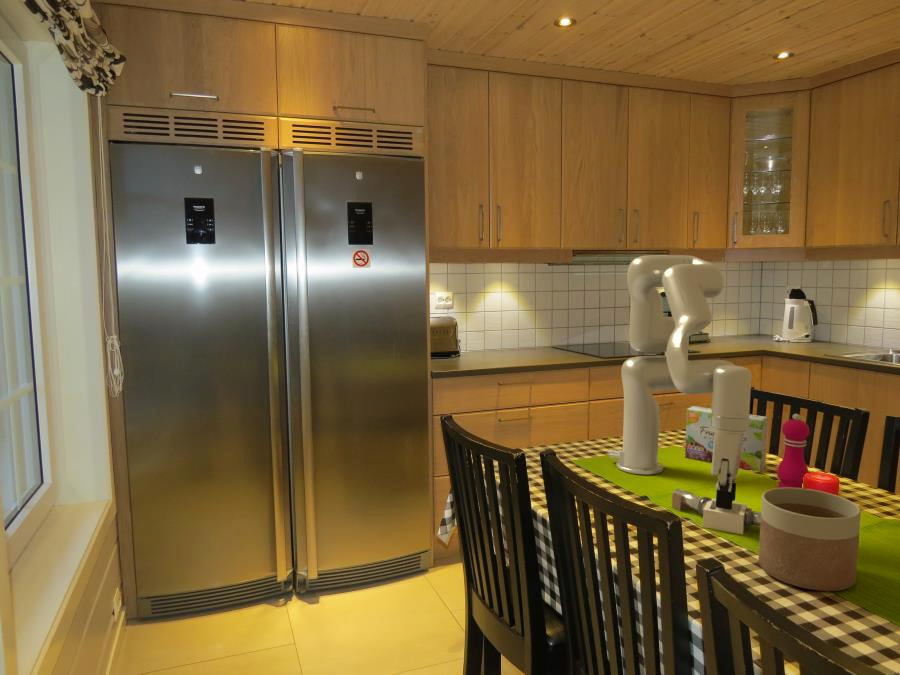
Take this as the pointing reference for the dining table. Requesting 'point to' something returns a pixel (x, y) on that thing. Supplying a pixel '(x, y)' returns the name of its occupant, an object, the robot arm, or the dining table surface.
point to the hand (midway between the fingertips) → (725, 502)
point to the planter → (809, 538)
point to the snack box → (703, 436)
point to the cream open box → (724, 517)
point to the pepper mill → (793, 454)
